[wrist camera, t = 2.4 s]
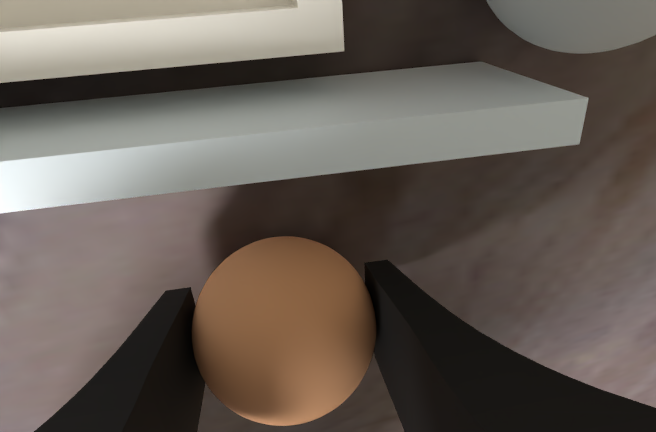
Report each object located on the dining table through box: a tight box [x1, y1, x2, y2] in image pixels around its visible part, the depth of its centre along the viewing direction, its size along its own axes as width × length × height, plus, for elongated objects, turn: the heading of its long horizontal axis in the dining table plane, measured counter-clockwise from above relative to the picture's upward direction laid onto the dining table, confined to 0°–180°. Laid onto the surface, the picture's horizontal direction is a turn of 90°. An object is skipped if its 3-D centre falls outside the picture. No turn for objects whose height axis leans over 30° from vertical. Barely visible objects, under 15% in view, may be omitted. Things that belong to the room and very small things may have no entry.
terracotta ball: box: [192, 236, 376, 426], centre depth 11 cm, size 4×4×4 cm
